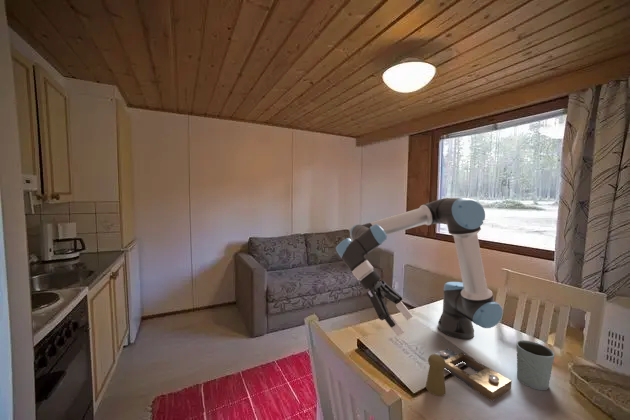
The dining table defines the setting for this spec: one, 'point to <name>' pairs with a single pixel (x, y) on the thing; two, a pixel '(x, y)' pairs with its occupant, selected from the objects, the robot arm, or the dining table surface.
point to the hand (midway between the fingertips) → (405, 325)
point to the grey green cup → (534, 364)
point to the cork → (436, 375)
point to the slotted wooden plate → (476, 375)
